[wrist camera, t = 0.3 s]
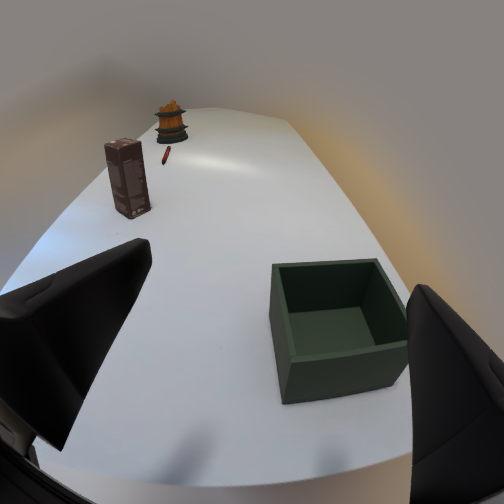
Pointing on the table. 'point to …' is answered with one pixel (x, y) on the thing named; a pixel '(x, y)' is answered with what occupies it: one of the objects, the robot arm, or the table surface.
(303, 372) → the bin
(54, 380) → the robot arm
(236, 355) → the table surface
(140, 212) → the box
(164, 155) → the pencil
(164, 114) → the mug
